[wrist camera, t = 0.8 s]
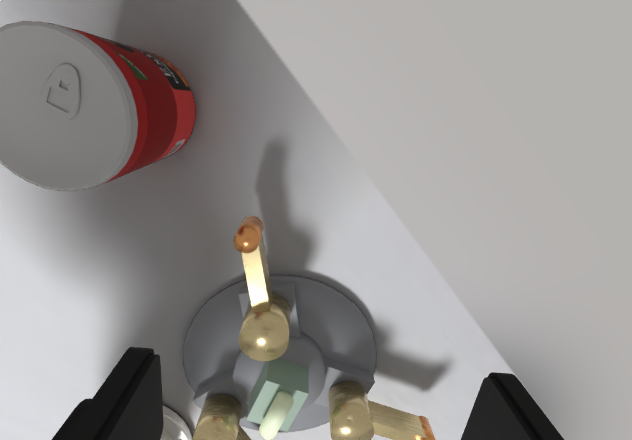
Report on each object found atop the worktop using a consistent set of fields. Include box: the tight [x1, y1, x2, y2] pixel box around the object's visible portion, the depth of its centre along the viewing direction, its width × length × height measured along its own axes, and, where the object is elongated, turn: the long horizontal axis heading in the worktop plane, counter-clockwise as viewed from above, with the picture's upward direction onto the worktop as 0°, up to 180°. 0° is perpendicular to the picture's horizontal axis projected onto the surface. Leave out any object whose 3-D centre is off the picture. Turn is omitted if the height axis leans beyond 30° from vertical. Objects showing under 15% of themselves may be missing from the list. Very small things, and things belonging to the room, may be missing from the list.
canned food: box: [0, 21, 196, 191], centre depth 21 cm, size 8×8×11 cm
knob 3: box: [328, 381, 435, 440], centre depth 33 cm, size 12×4×4 cm, turn 66°
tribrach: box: [183, 275, 377, 440], centre depth 31 cm, size 20×20×8 cm
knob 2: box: [234, 216, 291, 361], centre depth 27 cm, size 12×4×4 cm, turn 6°
